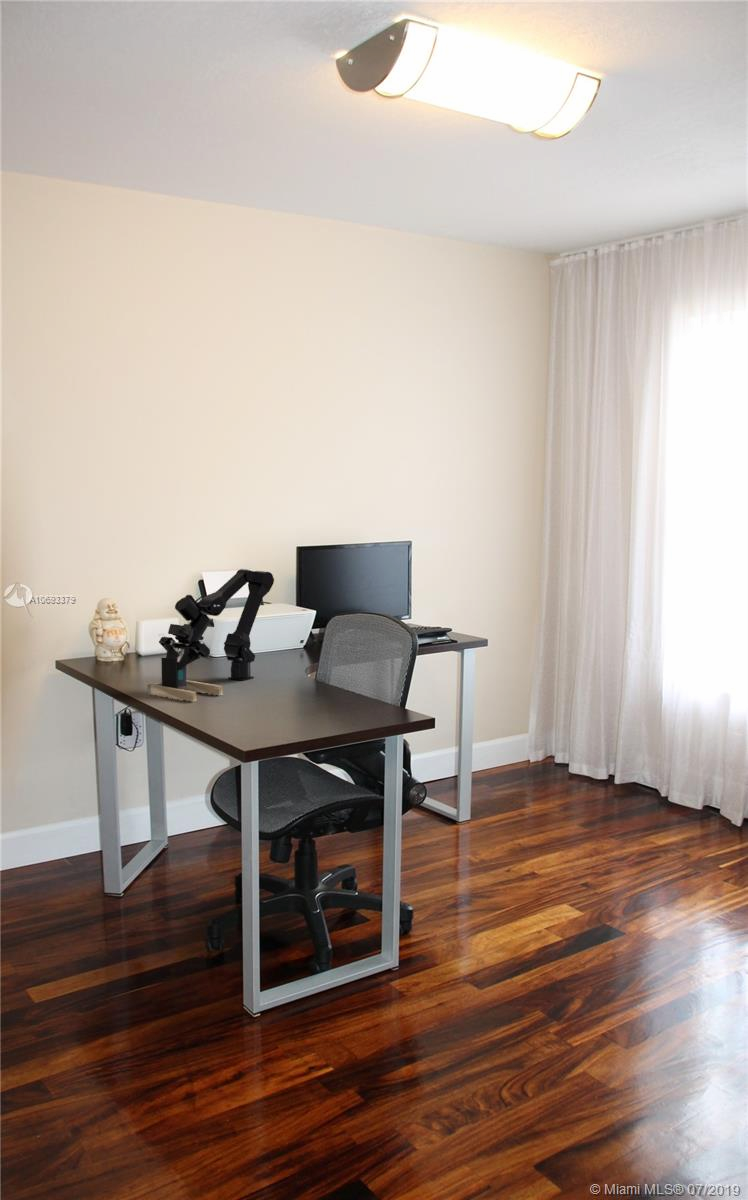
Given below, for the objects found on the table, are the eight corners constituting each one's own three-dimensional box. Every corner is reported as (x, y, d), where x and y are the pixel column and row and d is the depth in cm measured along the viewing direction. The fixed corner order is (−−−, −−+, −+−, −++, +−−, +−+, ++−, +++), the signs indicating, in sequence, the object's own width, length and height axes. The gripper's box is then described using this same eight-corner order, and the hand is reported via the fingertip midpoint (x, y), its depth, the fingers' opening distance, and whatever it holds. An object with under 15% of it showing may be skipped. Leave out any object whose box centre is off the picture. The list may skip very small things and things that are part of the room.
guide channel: (177, 687, 323) (177, 678, 322) (222, 695, 311) (222, 685, 310) (147, 694, 312) (147, 684, 312) (192, 702, 300) (192, 692, 300)
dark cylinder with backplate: (175, 690, 308) (173, 657, 309) (161, 690, 311) (160, 657, 312) (191, 688, 315) (189, 656, 315) (177, 688, 318) (176, 656, 318)
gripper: (162, 612, 320) (137, 650, 312) (202, 616, 309) (177, 656, 302) (180, 632, 327) (156, 670, 320) (220, 637, 316) (197, 676, 309)
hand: (171, 668), depth 312 cm, fingers closed on dark cylinder with backplate, 5 cm apart
